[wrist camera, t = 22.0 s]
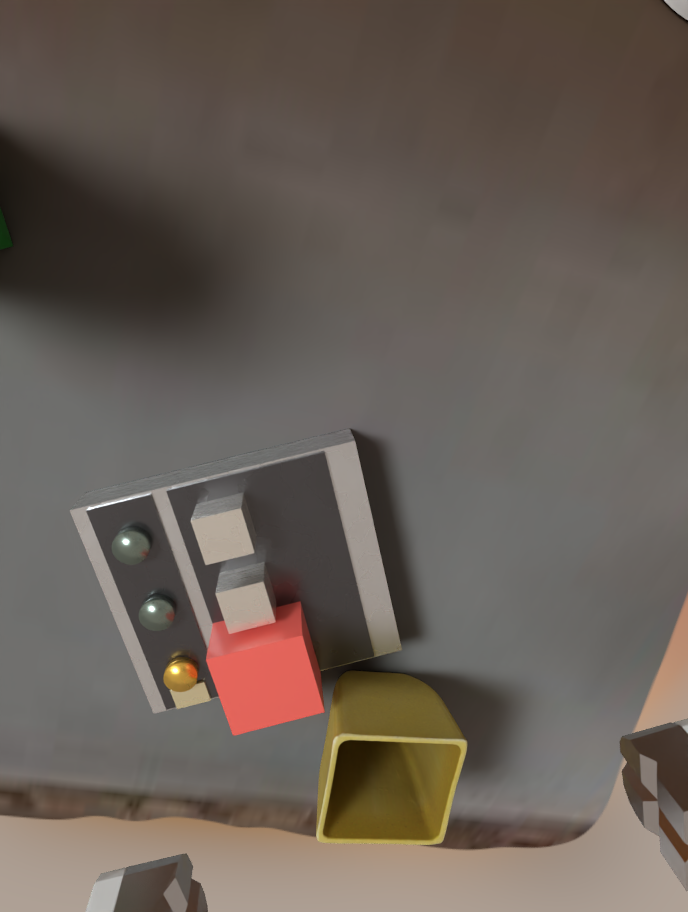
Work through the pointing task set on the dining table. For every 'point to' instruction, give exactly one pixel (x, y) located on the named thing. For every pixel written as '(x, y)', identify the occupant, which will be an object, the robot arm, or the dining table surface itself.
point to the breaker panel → (239, 560)
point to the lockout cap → (266, 671)
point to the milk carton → (4, 234)
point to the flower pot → (387, 762)
